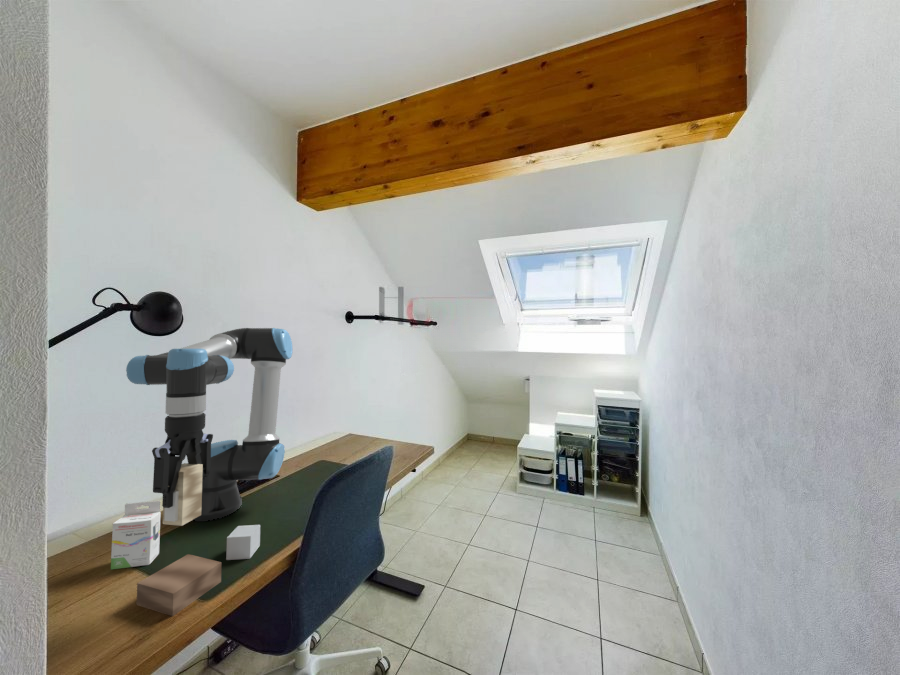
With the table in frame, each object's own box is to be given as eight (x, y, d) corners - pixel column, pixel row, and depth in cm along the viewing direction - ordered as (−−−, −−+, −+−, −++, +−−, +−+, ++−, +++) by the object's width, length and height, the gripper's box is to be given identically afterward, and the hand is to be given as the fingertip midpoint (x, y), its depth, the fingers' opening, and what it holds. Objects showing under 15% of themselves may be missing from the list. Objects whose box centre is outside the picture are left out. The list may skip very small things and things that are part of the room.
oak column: (182, 513, 82) (184, 463, 82) (201, 514, 81) (202, 464, 81) (162, 524, 77) (164, 470, 77) (181, 525, 76) (183, 471, 76)
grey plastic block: (237, 547, 96) (238, 525, 97) (259, 545, 97) (260, 524, 97) (226, 560, 90) (226, 537, 91) (250, 558, 91) (250, 536, 91)
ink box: (108, 570, 86) (111, 511, 86) (122, 558, 91) (124, 503, 91) (149, 565, 88) (151, 507, 89) (160, 553, 93) (162, 499, 93)
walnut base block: (187, 574, 85) (188, 554, 85) (220, 583, 82) (221, 562, 82) (136, 606, 75) (137, 583, 75) (172, 617, 72) (173, 593, 72)
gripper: (204, 406, 89) (202, 496, 88) (131, 421, 71) (127, 533, 70) (230, 407, 88) (227, 498, 87) (162, 422, 70) (158, 536, 69)
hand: (182, 513), depth 79 cm, fingers closed on oak column, 5 cm apart
